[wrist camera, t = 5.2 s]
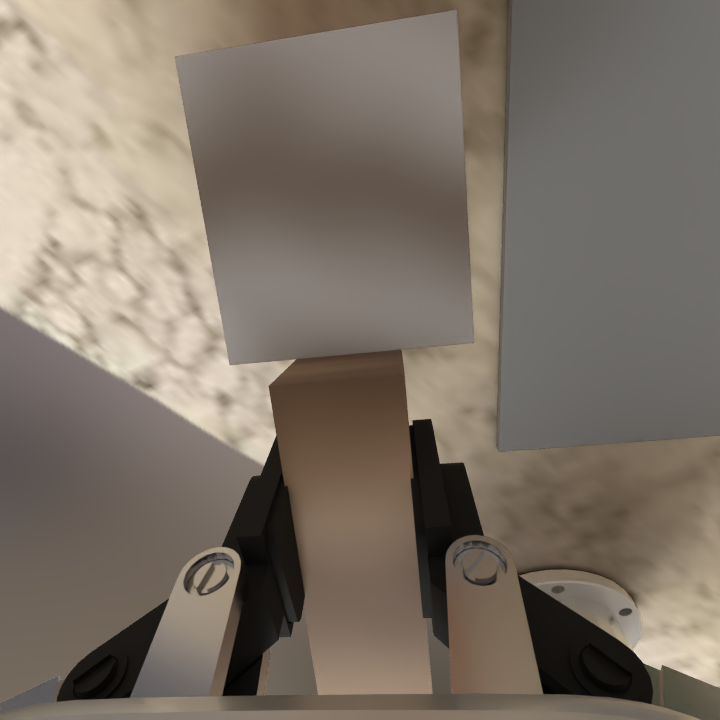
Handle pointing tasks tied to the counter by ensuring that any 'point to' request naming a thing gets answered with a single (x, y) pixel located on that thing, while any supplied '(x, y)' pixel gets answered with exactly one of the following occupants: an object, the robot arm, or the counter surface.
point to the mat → (610, 224)
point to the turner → (341, 297)
